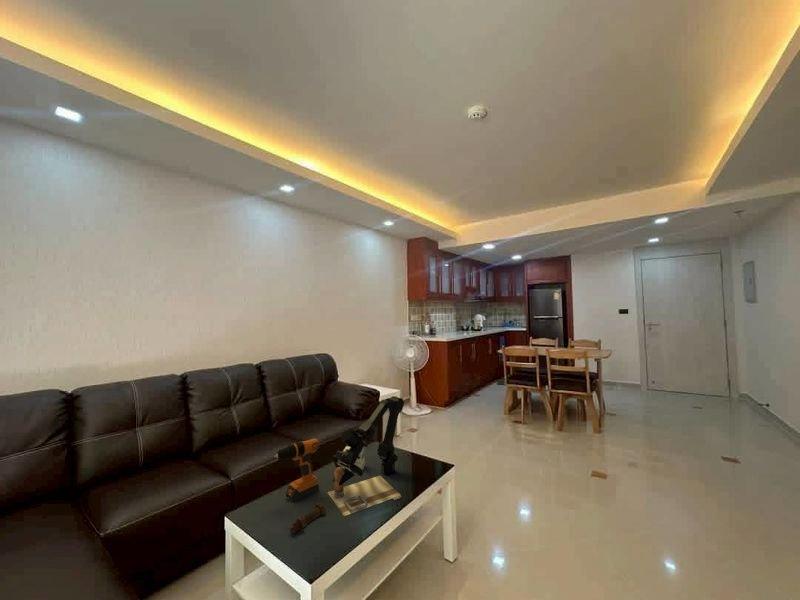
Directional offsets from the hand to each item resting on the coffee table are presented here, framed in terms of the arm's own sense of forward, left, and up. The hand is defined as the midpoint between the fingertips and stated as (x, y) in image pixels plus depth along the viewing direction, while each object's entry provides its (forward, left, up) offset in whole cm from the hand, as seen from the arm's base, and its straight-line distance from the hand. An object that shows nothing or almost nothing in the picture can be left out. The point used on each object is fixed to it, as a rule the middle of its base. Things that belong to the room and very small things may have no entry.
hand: (336, 483), depth 150 cm
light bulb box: (-19, -23, -8) cm, 31 cm away
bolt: (+16, +9, -8) cm, 20 cm away
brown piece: (-1, 0, -6) cm, 6 cm away
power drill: (+14, -12, -8) cm, 20 cm away
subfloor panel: (-12, +4, -7) cm, 15 cm away
